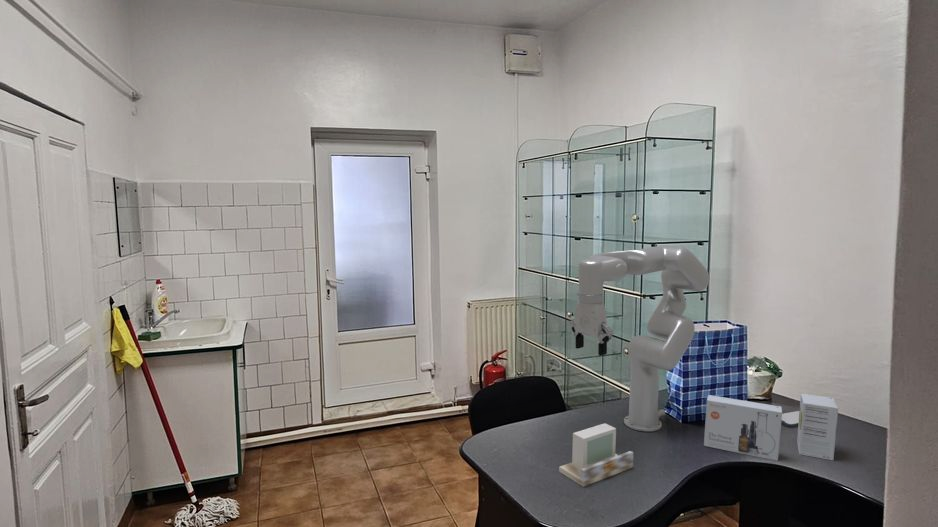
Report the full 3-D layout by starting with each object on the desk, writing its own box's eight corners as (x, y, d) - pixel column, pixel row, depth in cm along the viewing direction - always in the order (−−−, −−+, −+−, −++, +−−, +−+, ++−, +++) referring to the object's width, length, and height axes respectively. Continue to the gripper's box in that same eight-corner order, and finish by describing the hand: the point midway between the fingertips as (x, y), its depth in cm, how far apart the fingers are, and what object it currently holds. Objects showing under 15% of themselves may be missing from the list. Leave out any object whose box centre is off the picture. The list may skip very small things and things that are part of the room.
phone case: (799, 414, 205) (767, 419, 199) (799, 410, 205) (768, 415, 199) (822, 423, 197) (790, 429, 191) (822, 419, 197) (790, 425, 191)
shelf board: (607, 454, 173) (607, 439, 172) (633, 468, 164) (634, 452, 163) (559, 471, 162) (559, 456, 161) (584, 487, 153) (584, 471, 153)
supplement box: (796, 442, 181) (800, 392, 179) (829, 448, 177) (834, 397, 175) (798, 454, 172) (803, 402, 170) (834, 461, 168) (838, 407, 166)
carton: (572, 465, 162) (572, 433, 161) (603, 454, 169) (604, 423, 168) (583, 472, 158) (584, 439, 157) (615, 460, 165) (616, 428, 164)
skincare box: (703, 447, 178) (706, 399, 176) (704, 440, 182) (707, 393, 180) (778, 462, 168) (782, 411, 166) (778, 454, 173) (782, 405, 171)
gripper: (562, 296, 180) (563, 347, 182) (604, 305, 166) (603, 360, 168) (579, 293, 184) (579, 343, 186) (620, 301, 170) (620, 355, 172)
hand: (590, 351), depth 177 cm, fingers open, 9 cm apart
